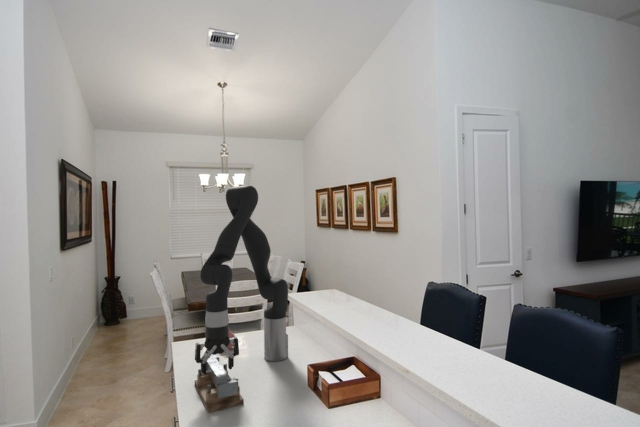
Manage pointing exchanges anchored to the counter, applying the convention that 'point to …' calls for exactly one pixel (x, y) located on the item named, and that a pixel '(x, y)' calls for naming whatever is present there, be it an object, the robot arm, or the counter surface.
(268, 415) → the counter surface
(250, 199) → the robot arm
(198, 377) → the rack
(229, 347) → the pink teardrop shape
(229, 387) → the grey flared end bar
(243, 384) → the counter surface
